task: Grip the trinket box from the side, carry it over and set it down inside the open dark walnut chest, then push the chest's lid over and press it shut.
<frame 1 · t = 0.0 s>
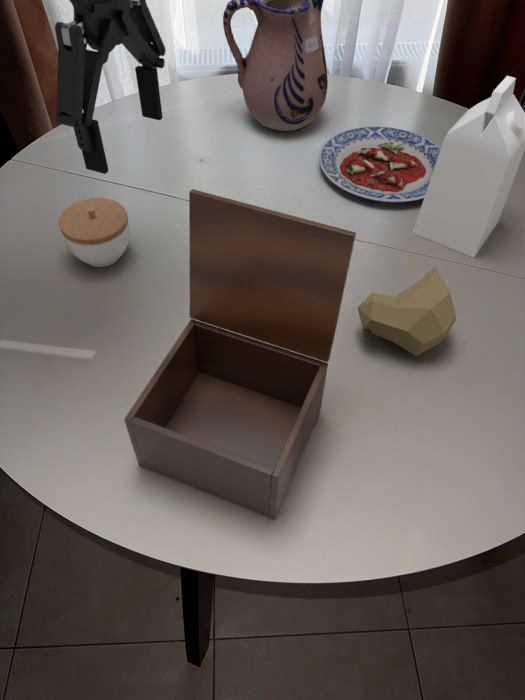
hand: (126, 142, 75), 25 cm above the table, tool pointing down, fingers open, 13 cm apart
ceramic pitcher: (275, 122, 127), on the table
milk: (455, 228, 104), on the table
trinket box: (102, 255, 98), on the table
lid: (263, 280, 66), point 20 cm above the table, hinge at 100.0°
tan faceted lump: (399, 337, 88), on the table
ceramic plate: (383, 171, 115), on the table
chest: (232, 437, 76), on the table
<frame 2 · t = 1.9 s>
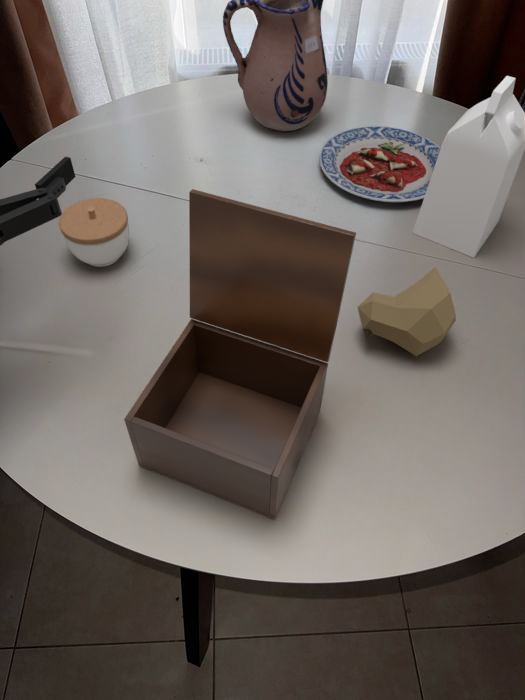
hand: (24, 156, 75), 24 cm above the table, tool horizontal, fingers open, 13 cm apart
nothing on the table moved.
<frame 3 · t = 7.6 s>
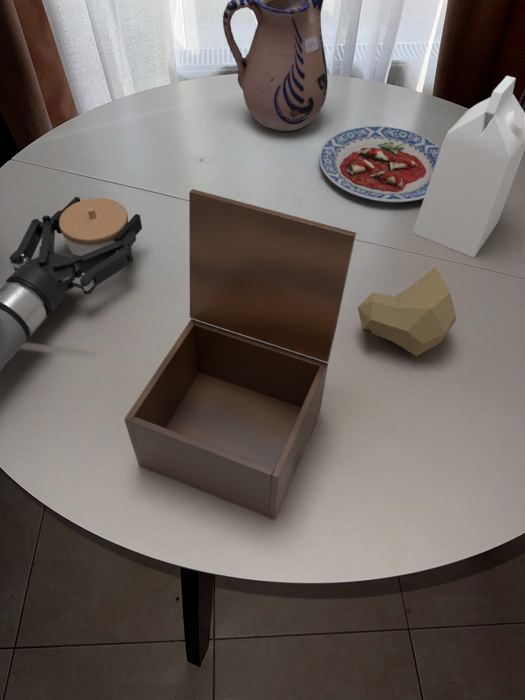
hand: (108, 212, 96), 6 cm above the table, tool horizontal, fingers closed on trinket box, 11 cm apart
trinket box: (103, 255, 98), on the table, touching gripper
everything else where it was.
when the fingers open (15 cm above the table, at t = 20.3 s): trinket box drops 8 cm, resting on chest.
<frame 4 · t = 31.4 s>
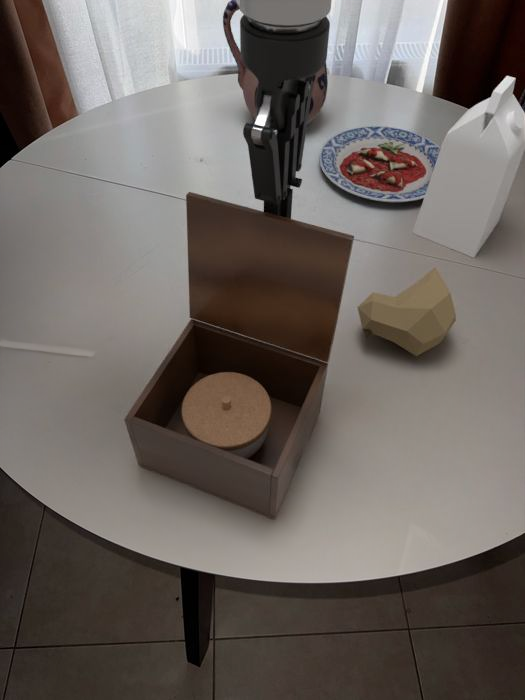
hand: (276, 238, 66), 23 cm above the table, tool pointing down, fingers closed
trinket box: (228, 441, 75), point 1 cm above the table, touching chest
lid: (262, 281, 66), point 20 cm above the table, hinge at 97.5°, touching gripper
everything else where it was.
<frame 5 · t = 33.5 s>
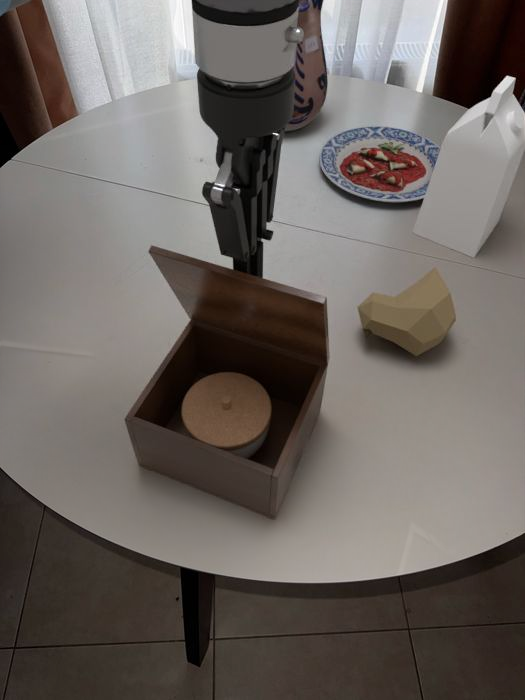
hand: (248, 290, 62), 22 cm above the table, tool pointing down, fingers closed
lid: (247, 309, 64), point 19 cm above the table, hinge at 69.0°, touching gripper
everything else where it was.
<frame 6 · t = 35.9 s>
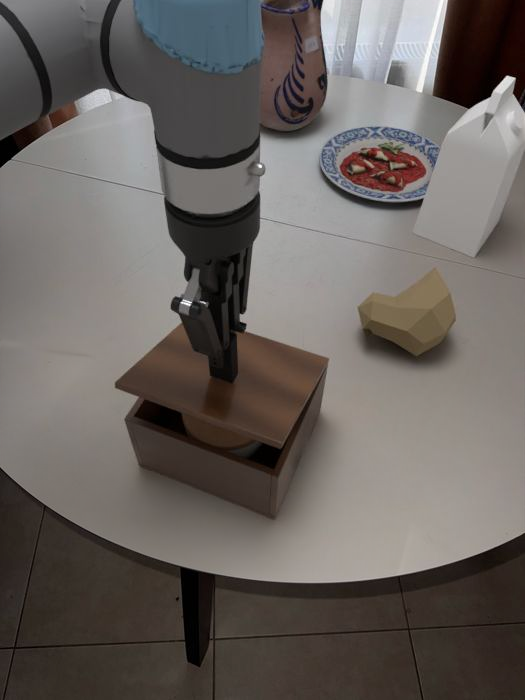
hand: (224, 374, 63), 16 cm above the table, tool pointing down, fingers closed
lid: (229, 372, 65), point 14 cm above the table, hinge at 19.4°, touching gripper
everything else where it was.
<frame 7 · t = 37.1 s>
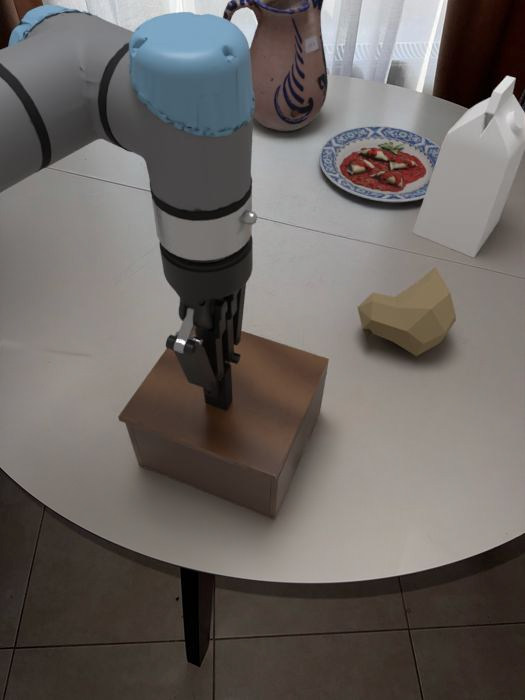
hand: (218, 401, 65), 12 cm above the table, tool pointing down, fingers closed
lid: (228, 388, 67), point 12 cm above the table, hinge at 2.5°, touching gripper
everything else where it was.
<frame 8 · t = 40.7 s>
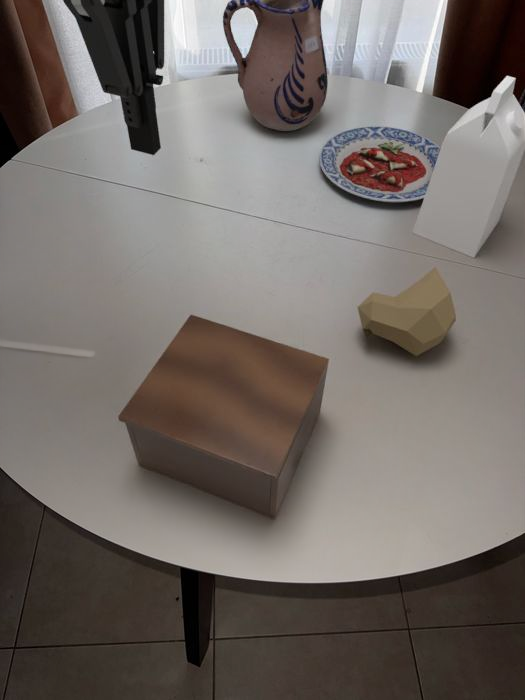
hand: (146, 148, 61), 32 cm above the table, tool pointing down, fingers closed
lid: (228, 388, 67), point 12 cm above the table, hinge at 2.4°
everything else where it was.
at the end: trinket box inside the target area in the chest (1.0 cm from its centre), point 0.6 cm above the chest's base; lid at +2° (first picture: +100°) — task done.
